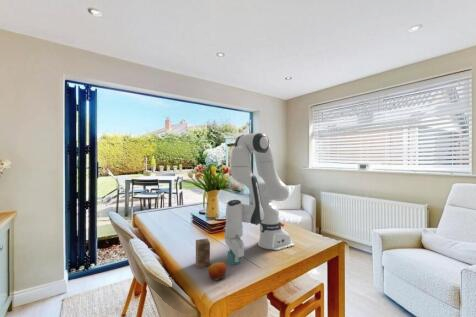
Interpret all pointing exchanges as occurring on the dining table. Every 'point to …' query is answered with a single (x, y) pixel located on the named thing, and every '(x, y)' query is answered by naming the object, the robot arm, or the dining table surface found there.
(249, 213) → the robot arm
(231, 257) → the teal block
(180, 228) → the dining table surface
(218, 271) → the fruit
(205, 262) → the block
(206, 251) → the tower top
